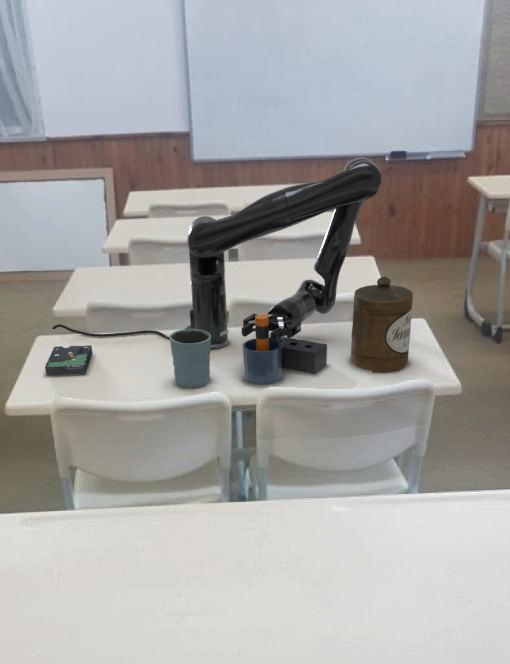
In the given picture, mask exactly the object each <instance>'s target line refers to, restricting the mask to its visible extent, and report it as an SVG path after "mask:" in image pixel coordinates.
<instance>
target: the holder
mask: <svg viewBox="0 0 510 664" xmlns="http://www.w3.org/2000/svg"><path fill="white" fill-rule="evenodd" d="M269 338H270V336H269ZM277 340H278V341H280V342H281V344H282V369H284V370H291V371H296V372H299V373H300V372H301V373H307V374H312V375H316V374H317V373H319V372H320V371H321V370H322V369H323V368H324V367H326V366H327V364H328V363H327V362H328V361H327V360H328V344H327V343H323V342H315V341H311V340H304V339H299V338H293V337H291V338H288V337H287V336H284V337H283V338H281V337H280V338H279V339H277Z"/></svg>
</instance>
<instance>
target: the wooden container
mask: <svg viewBox="0 0 510 664" xmlns="http://www.w3.org/2000/svg"><path fill="white" fill-rule="evenodd" d="M391 282H392V281H391V278H389V277H388V276H381V277H380V278H378V279H377V281H376V284H370V285H366V286H365V285H364V286H362V287H359V288H357V289H355V291H354V294H353V309H352V310H353V312H352V324H351V325H352V326H351V341H350V343H351V345H350V363H351V365H353V366H355V367H356V368H359V369H361V370H365V371H371V372H372V373H389V372H396V371H399V370H402V369H404V368H405V367H406V366H407V365H408V363H409V355H410V354H409V352H410V340H411V327H412V312H413V310H412V309H413V303H414V302H413V299H414V293H413V291H411V289H409V288H407V287H404V286H400V285H394V284H392V283H391Z"/></svg>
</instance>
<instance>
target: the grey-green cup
mask: <svg viewBox="0 0 510 664" xmlns="http://www.w3.org/2000/svg"><path fill="white" fill-rule="evenodd" d="M169 337H170V340H169V344H170V351H171V356H172V365H173V374H174V375H173V376H174V382H175V383H176V385H177V386H178V387H180V388H184V389H197V388H203V387H205V386H206V385H209V382H210V379H211V378H210V375H211V369H210V368H211V367H210V365H211V361H210V360H211V357H210V356H211V349H210V346H211V335H210V333H208V332H207V331H204V330H200V329H185V328H184V329H178V330H176V331H174V332H172V333H170V335H169Z"/></svg>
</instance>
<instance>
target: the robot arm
mask: <svg viewBox="0 0 510 664" xmlns="http://www.w3.org/2000/svg"><path fill="white" fill-rule="evenodd" d="M382 183H383V176H382V172H381V170H380V169H379V167H378V166H377V165H376V164H375V163H374V162H373V161H372V160H371V159H369V158H367V157H364V156H363V157H361V156H360V157H355V158H353V159H352V160H350V161H348V163H347V164H346V165H345V167H344V168H343V171H340V172H339V173H337V174H334V175H332V176H330V177H328V178H325V179H322V180H318V181H313V182H312V181H311V182H305V183H300V184H294V185H290V186H286V187H284V188H280V189H278V190H276V191H273V192H271V193H267V194H266V195H264V196H262V197H260V198H258V199H256V200H255V201H253V202H252V203H250V204H248V205H247V206H246V207H244V208H243V209H241V210H240V211H238V212H236V213H234V214H231V215H228V216H225V217H222V218H219V219H216V218H214V217H211V216H207V215H202V216H199V217H197V218H196V219H194V220H193V221H192V222H191V224H190V225H189V227H188V230H187V231H188V232H187V247H188V255H189V277H190V289H191V290H190V291H191V305H192V308H191V309H190V310H189V321H190V322H189V323H190V325H188V326H187V327H185V328H184V329H200V330H204V331H207V332H208V333H210V335H211V346H210V350H212V349H213V350H214V349H215V350H216V349H220V348H223V347H225V346H227V345H228V343H229V335H228V334H229V329H228V309H227V308H228V307H227V290H226V265H225V252H227V251H229V250H230V249H233V248H234V247H237V246H239V245H240V244H243V243H246V242H249V241H251V240H255V239H258V238H262V237H265V236H268V235H270V234H274V233H277V232H280V231H283V230H286V229H288V228H291V227H294V226H296V225H299V224H301V223H303V222H306V221H307V220H308V221H309V220H311V219H313V218H316V217H317V216H320V215H322V214H324V213H326V212H329V211H331V210H333V214H332V217H331V220H330V222H329V225H328V228H327V230H326V233H325V235H324V238H323V241H322V243H321V245H320V248H319V251H318V254H317V256H316V259H315V261H314V265H313V270H314V271H315V273H316V274H318V275H319V276H321V278H322V280H323V281H324V282H323V283H324V284H322V283H320V282H318V281H316V280H313V279H305V280H303V281H302V282H301V283H300V285H299V287H298V289H297V290H296V292H295V293H294V294H293V295H291V296H289V297H287V298H285V299H283V300H281V301H280V302H278V303H276V304H275V305H273V306H272V307H271V308H270V309H269V310H268V312H267V314H266V315H268V316H269V337H270V341H275V340H277V339H279V338H280V337H281V338H283V337H287V338H293V337H295V336H296V335H298V334H299V333H300V332H301V331H302V324H303V323H304V322H305V321H306V320H307V319H310V318H311V316H313V315H314V313H315V312H316V313H318V314H320V315H326V314H328V313H329V312H331V311H332V309H333V308H334V307H335V305H336V300H337V290H338V283H339V278H340V277H339V276H340V272H341V270H342V268H343V265H344V262H345V260H346V257H347V254H348V252H349V249H350V245H351V241H352V236H353V232H354V228H355V224H356V221H357V219H358V215H359V213H360V210H361V208H362V206H363V204H364V202H365V201H367V200H370V199H371V198H373V197H374V196H375V195H377V194H378V193H379V191H380V189H381V187H382ZM257 315H258V314H257V313H252V314H249V316H247V317H245V318H244V319H243V320H242V327H241V336H242V337H245V338H246V337H248V335H250V334H252V333H254V332H255V333H256V327H254V326H255V324H256V323H255V317H256V316H257ZM57 328H63V329H65V330H67V331H69V332H71V333H75V334H79V335H83V336H86V337H94V338H106V337H119V336H120V337H121V336H132V335H140V334H156V335H159V336H161V337H162V338H164V339H166V340H168V341H170V336H168V335H166V334H164V333H163V332H161V331H158V330H152V329H151V330H148V329H147V330H146V329H145V330H136V331H126V332H125V331H124V332H113V333H93V332H92V333H90V332H85V331H81V330H77V329H74V328H71V327H68V326H66V325H64V324H60V323H57V324H55V325H53V326H52V327H51V329H52V330H56V329H57Z"/></svg>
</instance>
